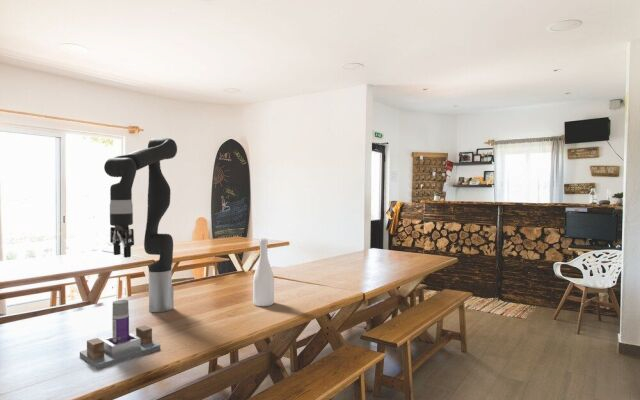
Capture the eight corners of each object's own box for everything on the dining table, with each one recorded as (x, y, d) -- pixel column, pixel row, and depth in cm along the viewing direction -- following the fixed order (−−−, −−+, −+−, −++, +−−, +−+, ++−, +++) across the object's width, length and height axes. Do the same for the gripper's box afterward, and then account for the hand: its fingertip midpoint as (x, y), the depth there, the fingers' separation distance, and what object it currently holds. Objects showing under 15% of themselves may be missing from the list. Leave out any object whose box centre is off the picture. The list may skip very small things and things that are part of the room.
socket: (128, 340, 130) (128, 332, 130) (140, 347, 125) (140, 338, 124) (101, 348, 123) (100, 339, 123) (112, 356, 118) (112, 346, 118)
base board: (140, 338, 136) (140, 334, 136) (160, 349, 127) (160, 344, 127) (79, 356, 121) (79, 351, 121) (97, 369, 112) (97, 364, 112)
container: (131, 345, 126) (131, 299, 126) (125, 351, 122) (124, 303, 122) (117, 345, 126) (116, 299, 126) (109, 351, 122) (109, 303, 121)
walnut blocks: (145, 338, 132) (144, 325, 132) (152, 341, 129) (152, 328, 129) (86, 355, 119) (86, 340, 119) (93, 359, 115) (93, 344, 115)
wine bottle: (249, 305, 176) (248, 239, 176) (261, 299, 185) (261, 237, 184) (266, 308, 172) (265, 240, 171) (278, 302, 180) (278, 238, 180)
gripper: (140, 212, 141) (141, 256, 141) (123, 211, 150) (123, 252, 151) (119, 213, 135) (120, 259, 136) (102, 211, 144) (103, 255, 145)
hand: (122, 256), depth 143 cm, fingers open, 8 cm apart
